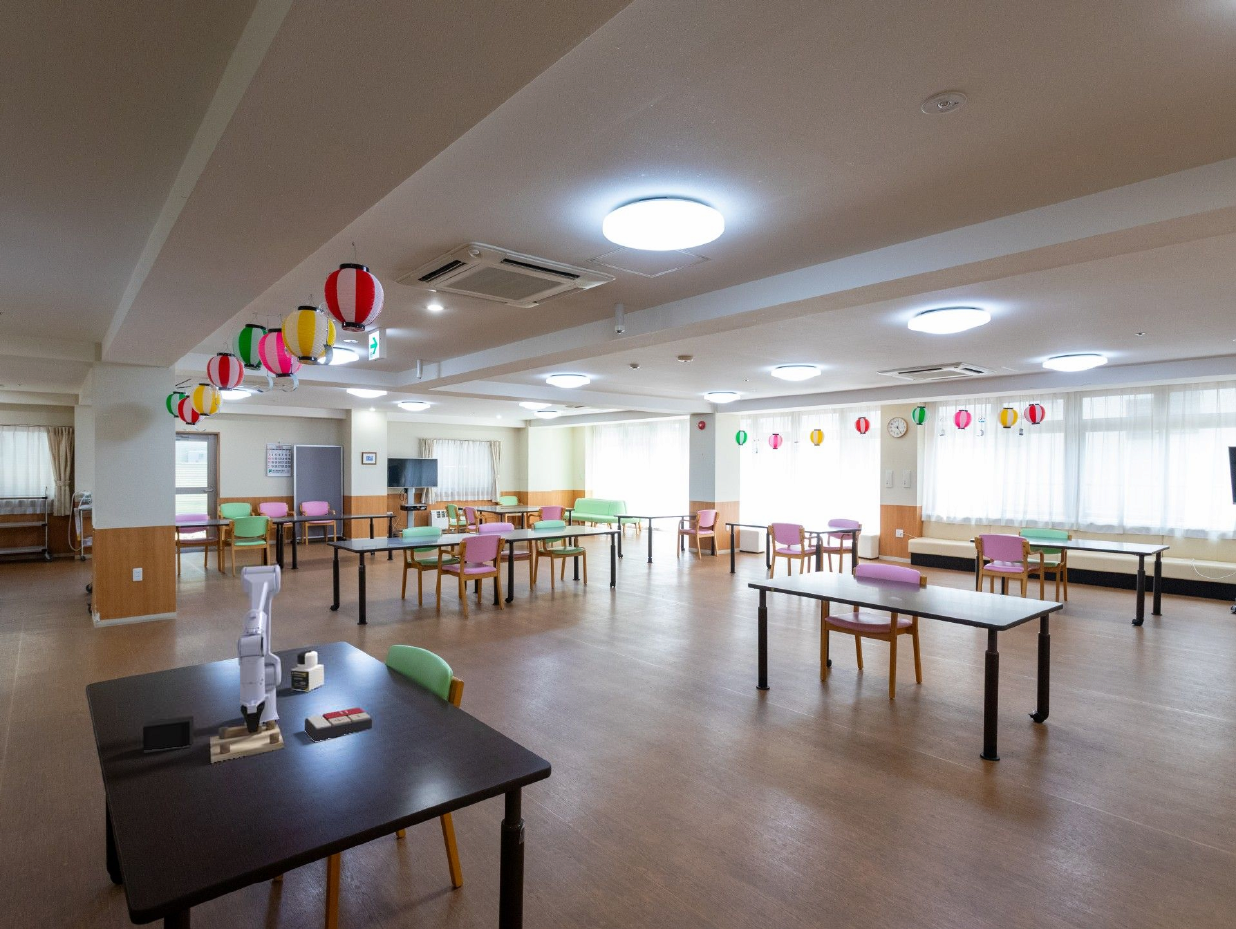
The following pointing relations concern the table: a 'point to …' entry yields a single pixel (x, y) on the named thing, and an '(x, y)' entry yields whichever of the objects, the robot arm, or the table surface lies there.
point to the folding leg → (236, 731)
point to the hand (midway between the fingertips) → (253, 732)
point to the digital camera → (168, 733)
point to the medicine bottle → (307, 672)
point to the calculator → (337, 723)
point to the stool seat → (247, 743)
